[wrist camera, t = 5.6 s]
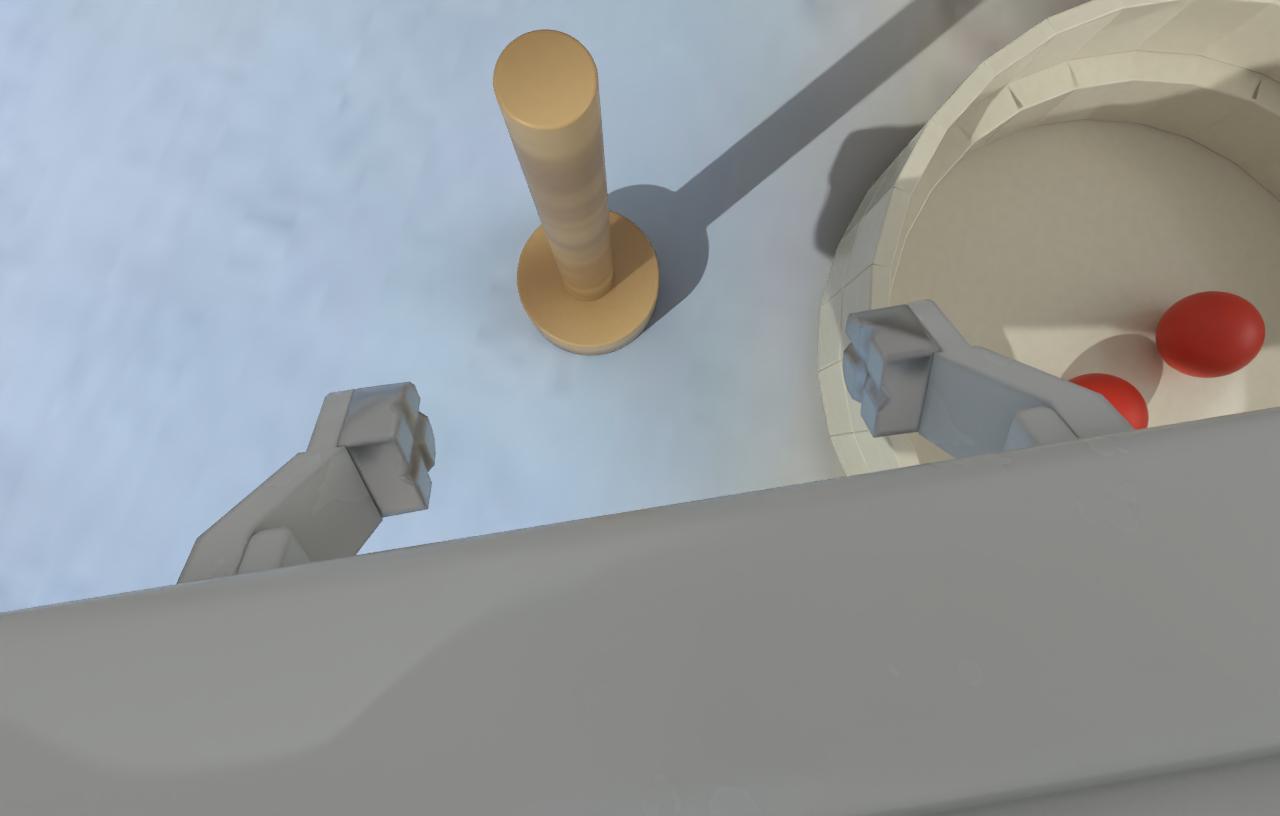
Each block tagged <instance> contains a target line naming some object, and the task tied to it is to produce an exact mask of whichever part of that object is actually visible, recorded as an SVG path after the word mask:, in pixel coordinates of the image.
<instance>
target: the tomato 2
mask: <svg viewBox="0 0 1280 816" xmlns="http://www.w3.org/2000/svg"><path fill="white" fill-rule="evenodd" d="M1155 339H1156V346H1157V349H1158V351H1159V353H1160V355H1161V357H1162V358H1163V359H1164V360H1165V362H1166V363H1167V364H1168V365H1169V366H1171V367H1172V368H1174V369H1175V370H1177V371H1179V372H1181V373H1183V374H1186V375H1189V376H1193V377H1200V378H1215V377H1221V376H1225V375H1229V374H1232V373H1234V372H1236V371H1238V370H1240V369H1242V368H1243V367H1245V366H1246V365H1248V364H1249V363H1250V362H1251V361H1252V360H1253V359H1254V358H1255V357H1256V356H1257V355H1258V353H1259V352H1260V350H1261V348H1262V346H1263V343H1264V340H1265V324H1264V321H1263V318H1262V316H1261V314H1260V313H1259V311H1258V310H1257V309H1256V308H1255V306H1254V305H1252V304H1251V303H1250V302H1249V301H1247V300H1246V299H1244V298H1242V297H1240V296H1237V295H1235V294H1232V293H1228V292H1220V291H1206V292H1200V293H1196V294H1192V295H1190V296H1187V297H1185V298H1183V299H1181V300H1179V301H1178V302H1176V303H1174V304H1173V305H1172V306H1171V307H1170V308H1169V309H1168V310H1167V311H1166V312H1165V313H1164V314H1163V316H1162V317H1161V319H1160V321H1159V323H1158V326H1157V329H1156V336H1155Z"/></svg>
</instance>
